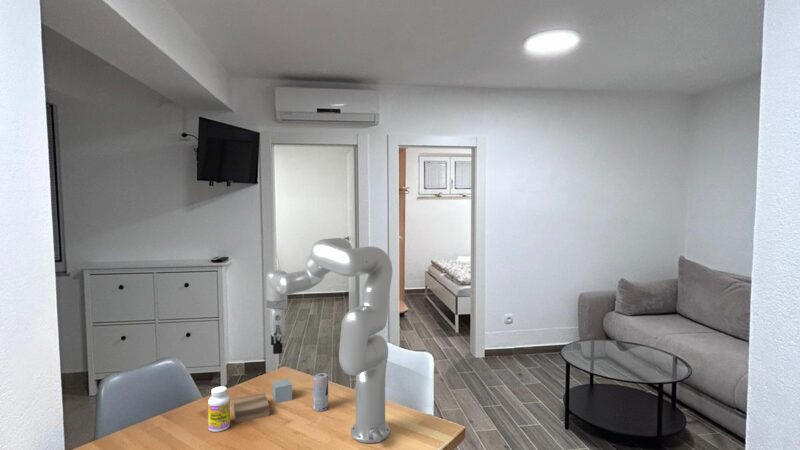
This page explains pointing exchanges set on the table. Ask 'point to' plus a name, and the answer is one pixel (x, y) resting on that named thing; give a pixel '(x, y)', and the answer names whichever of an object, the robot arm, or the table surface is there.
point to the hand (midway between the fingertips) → (276, 348)
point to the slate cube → (282, 390)
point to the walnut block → (250, 407)
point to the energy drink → (320, 392)
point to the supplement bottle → (219, 409)
